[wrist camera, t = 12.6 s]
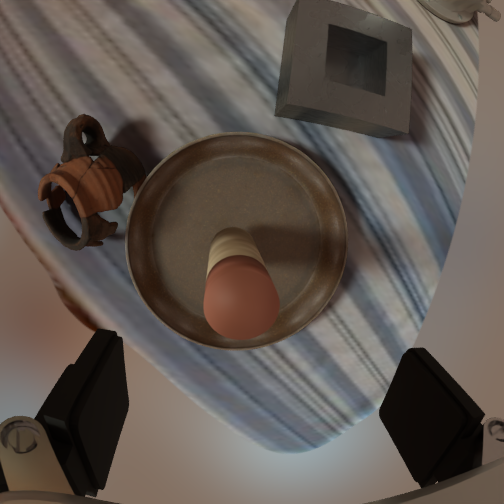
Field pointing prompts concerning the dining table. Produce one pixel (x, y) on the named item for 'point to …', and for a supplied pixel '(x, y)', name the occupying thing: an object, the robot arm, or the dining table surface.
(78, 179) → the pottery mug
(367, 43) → the block
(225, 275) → the beech pin
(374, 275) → the dining table surface
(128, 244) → the plant saucer
